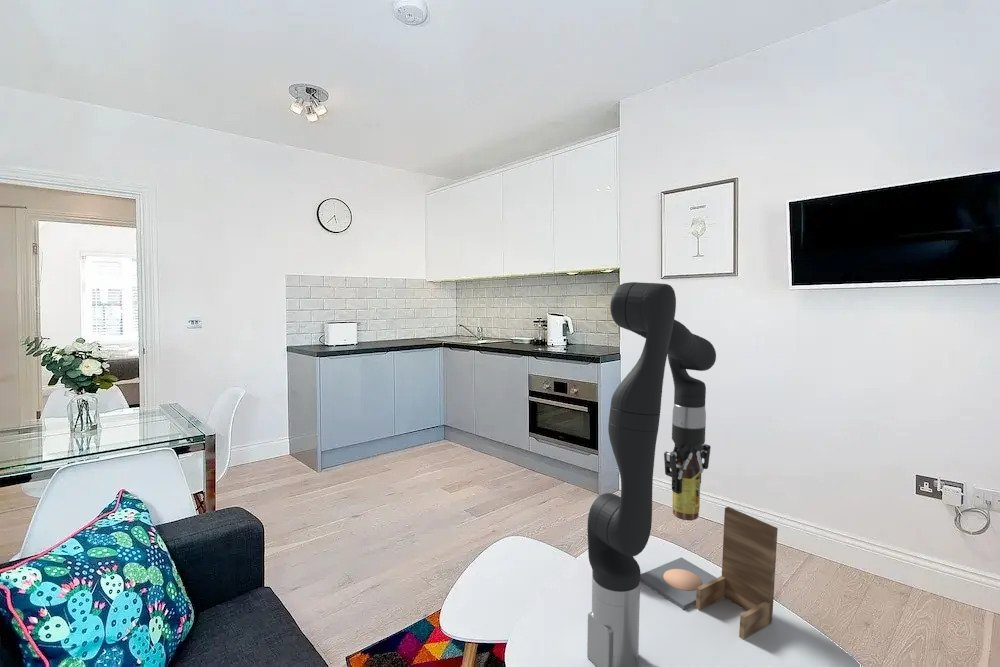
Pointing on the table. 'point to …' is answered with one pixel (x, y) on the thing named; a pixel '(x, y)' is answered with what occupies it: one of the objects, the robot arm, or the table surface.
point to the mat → (677, 581)
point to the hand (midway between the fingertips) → (686, 489)
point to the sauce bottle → (688, 491)
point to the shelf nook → (745, 571)
